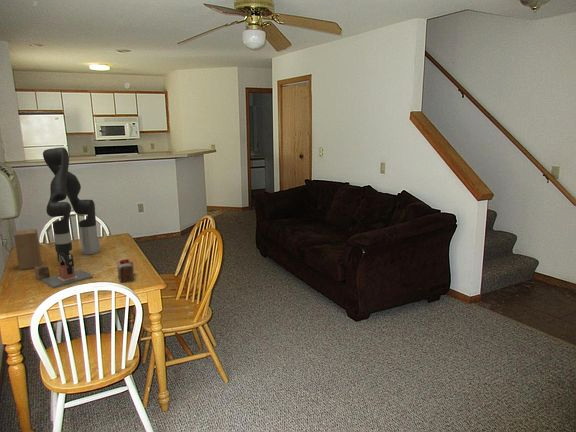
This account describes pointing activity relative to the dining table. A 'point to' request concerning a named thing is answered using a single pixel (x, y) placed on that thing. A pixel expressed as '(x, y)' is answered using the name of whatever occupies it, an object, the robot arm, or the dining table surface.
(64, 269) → the red block
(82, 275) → the grey flat rectangular panel
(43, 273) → the walnut block
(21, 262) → the wooden block
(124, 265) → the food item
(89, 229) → the robot arm
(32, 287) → the dining table surface
